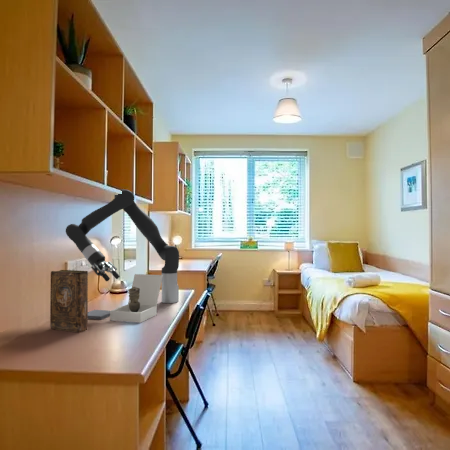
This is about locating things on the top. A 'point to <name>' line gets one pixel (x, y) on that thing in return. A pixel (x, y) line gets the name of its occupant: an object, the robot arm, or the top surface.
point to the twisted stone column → (134, 299)
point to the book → (69, 300)
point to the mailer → (141, 300)
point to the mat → (98, 314)
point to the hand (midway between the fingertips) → (113, 279)
